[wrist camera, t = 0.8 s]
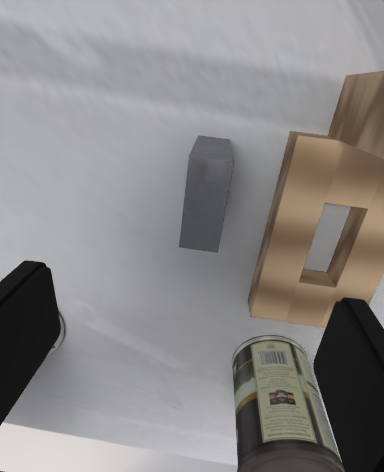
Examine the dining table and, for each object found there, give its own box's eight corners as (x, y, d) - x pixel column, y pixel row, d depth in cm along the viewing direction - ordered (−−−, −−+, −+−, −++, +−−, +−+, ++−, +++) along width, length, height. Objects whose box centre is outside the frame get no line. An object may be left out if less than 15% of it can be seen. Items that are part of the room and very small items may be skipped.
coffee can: (253, 396, 44) (266, 517, 32) (218, 350, 41) (217, 466, 28) (320, 374, 41) (364, 499, 29) (288, 323, 38) (323, 440, 25)
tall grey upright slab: (218, 207, 32) (217, 252, 23) (190, 203, 32) (179, 247, 23) (229, 139, 29) (233, 161, 20) (198, 135, 29) (189, 155, 20)
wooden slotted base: (345, 314, 37) (411, 431, 24) (248, 300, 37) (262, 408, 24) (446, 88, 25) (666, 85, 13) (305, 70, 26) (387, 51, 13)
